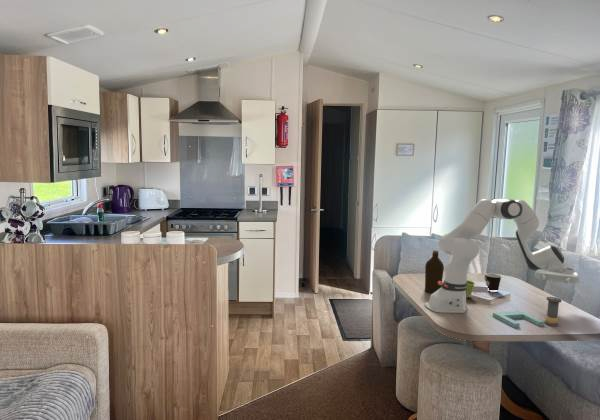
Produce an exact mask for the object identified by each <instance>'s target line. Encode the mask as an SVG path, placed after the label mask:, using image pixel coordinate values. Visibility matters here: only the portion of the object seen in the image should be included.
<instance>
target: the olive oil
mask: <svg viewBox="0 0 600 420" xmlns="http://www.w3.org/2000/svg"><path fill="white" fill-rule="evenodd" d="M444 269H445V267H444V263H443V262H442V260H441V259H440V258H439V251H438V250H434V249H433V251H432V256H431V258H429V259H428V260H427V261H426V262H425V269H424V271H425V272H424V274H425V275H424V276H425V277H424V278H425V279H424V291H425V293H429V294H433V293H434V292H436V291H437V290H438V289H440V288H441V286H442V285H439V284H438V281H441V282H442V283H443V277H444Z"/></svg>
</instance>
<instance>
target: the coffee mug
mask: <svg viewBox="0 0 600 420" xmlns="http://www.w3.org/2000/svg"><path fill="white" fill-rule="evenodd" d="M501 279H502V275H500V274H496V273H486V274H484V280H485V282H486V284H485V285H487V286H488V288H489V290H498V291H499V290H500V289H499V288H500V283H501Z"/></svg>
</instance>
